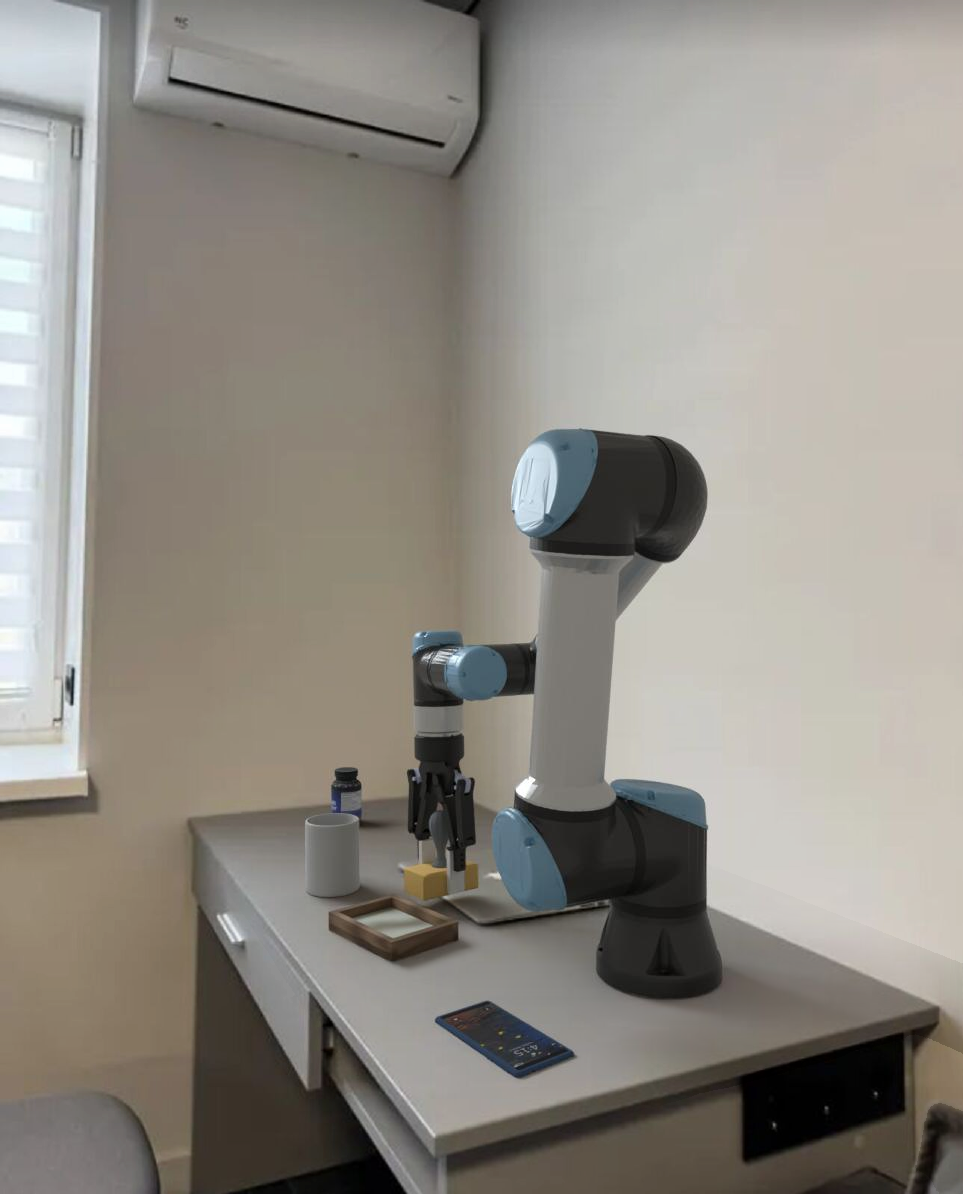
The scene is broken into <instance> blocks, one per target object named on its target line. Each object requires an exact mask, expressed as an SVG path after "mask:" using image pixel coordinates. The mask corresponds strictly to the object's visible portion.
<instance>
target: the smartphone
mask: <svg viewBox="0 0 963 1194" xmlns="http://www.w3.org/2000/svg"><path fill="white" fill-rule="evenodd" d="M434 1023H435V1024H437V1025H438V1026H440V1027H441V1028H443V1029H444V1030H446V1032H448V1033H450V1035H453V1036H454V1037H456V1038H457V1039H459V1041H461V1042H463V1043H465V1044H466V1045H467V1046H469V1047H470V1048H472V1049H473V1050H474V1051H476V1052H477V1053H479V1054H480V1055H482V1056H483V1057H484V1058H485V1059H487V1060H489V1062H491V1063H493V1064H494V1065H496V1066H497V1067H498V1068H500V1069H501V1070H503V1071H504V1072H506V1073H507V1074H509V1075H511V1076H512V1077H514V1078H516V1079H522V1078H524V1077H526V1076H529V1075H532V1074H533V1073H537V1072H539V1071H542V1070H544V1069H547V1068H550V1067H552V1066H555V1065H557V1064H559V1063H561V1062H564V1061H567V1060H570V1059H572V1058H574V1056H575V1053H574V1051H573V1050H572V1049H570V1048H568V1047H567V1046H565V1045H564V1044H562V1043H560V1042H559V1041H557V1040H555V1039H553V1038H552V1037H550V1036H548V1035H547V1034H545V1033H544V1032H542V1031H540V1030H539V1029H537V1028H535V1027H533V1026H532V1025H531V1024H529V1023H528V1022H525V1021H523V1020H522V1019H520V1018H519V1017H518V1016H516V1015H513V1014H512V1013H511V1012H509V1011H507V1010H505V1009H504V1008H502V1007H500V1006H499V1005H497V1004H496V1003H494V1002H492V1001H490V1000H485V1001H480V1002H478V1003H475V1004H471V1005H469V1006H466V1007H463V1008H459V1009H457V1010H453V1011H450V1012H447V1013H444V1014H442V1015H439V1016H436V1017H435V1018H434ZM532 1072H533V1073H532Z"/></svg>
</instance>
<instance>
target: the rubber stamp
mask: <svg viewBox="0 0 963 1194" xmlns="http://www.w3.org/2000/svg"><path fill="white" fill-rule="evenodd" d="M429 830H430V833H431V836H432V837H431V838H432V839H433V841H434V844H435V847H436V859H435V861H434V862H429V863H424V864H419V863H418V864H416V865H412V866H411V865H410V866H406V867H404V871H403V873H404V874H403V876H404V877H403V879H404V880H403V882H404V884H403V885H404V887H403V888H404V893H405V894H408V895H410V896H413V897H415V898H417V899H419V900H421V901H430V900H434V899H438V898H442V897H447V896H451V895H450V894H447V856H446V849H447V848H446V847H447V844H448V842H449V837H448V832H447V828H446V823H445V818H444V813H443V809H439V810H437V811H435V812H434V813H433V814H432V816H431V817H430V820H429ZM464 884H465V891H462V892H461V893H463V892H467V891H472V890H475V889H479V864H477V863H475V862H473V861H470V860H467V859H466V869H465V870H464Z"/></svg>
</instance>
